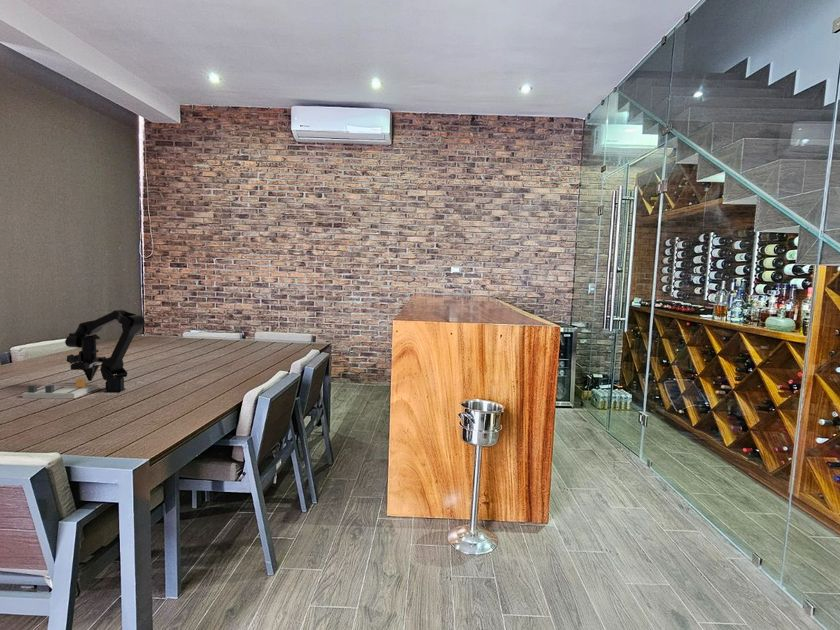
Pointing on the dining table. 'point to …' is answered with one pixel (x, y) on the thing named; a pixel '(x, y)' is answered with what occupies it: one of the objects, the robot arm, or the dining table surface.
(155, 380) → the dining table surface
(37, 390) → the breaker panel
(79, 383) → the block
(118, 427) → the dining table surface
